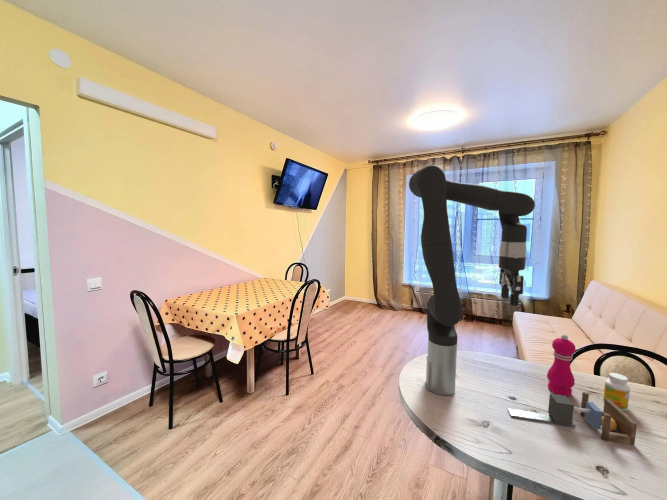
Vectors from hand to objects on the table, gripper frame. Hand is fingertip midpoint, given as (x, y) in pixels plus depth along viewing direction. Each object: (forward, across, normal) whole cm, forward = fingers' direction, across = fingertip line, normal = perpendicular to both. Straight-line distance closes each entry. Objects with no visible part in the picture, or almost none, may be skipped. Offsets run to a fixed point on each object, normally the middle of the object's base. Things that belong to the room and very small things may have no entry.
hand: (509, 301), depth 93 cm
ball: (+28, +16, +21) cm, 39 cm away
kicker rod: (+29, +17, +13) cm, 36 cm away
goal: (+30, +16, +20) cm, 40 cm away
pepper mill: (+30, 0, +17) cm, 35 cm away
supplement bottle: (+30, +4, +30) cm, 43 cm away
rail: (+30, +16, +4) cm, 35 cm away
